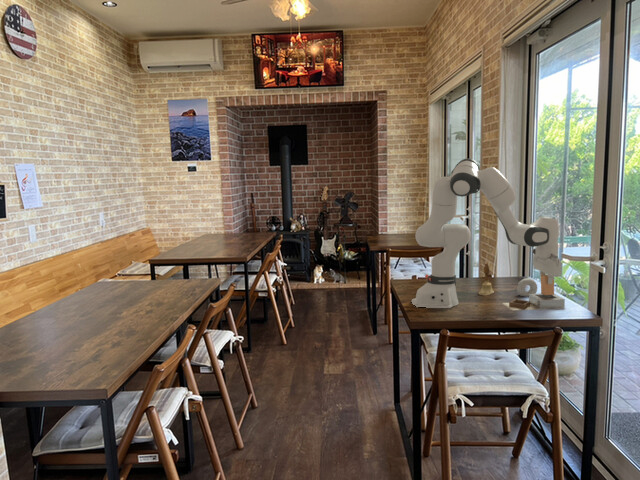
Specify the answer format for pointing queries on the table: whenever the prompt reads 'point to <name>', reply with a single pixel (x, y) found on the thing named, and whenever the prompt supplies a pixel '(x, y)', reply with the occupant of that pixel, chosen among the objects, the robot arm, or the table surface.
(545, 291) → the peg
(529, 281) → the donut
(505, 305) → the board
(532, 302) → the socket block
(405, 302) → the table surface
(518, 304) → the peg holder
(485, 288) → the hand bell
